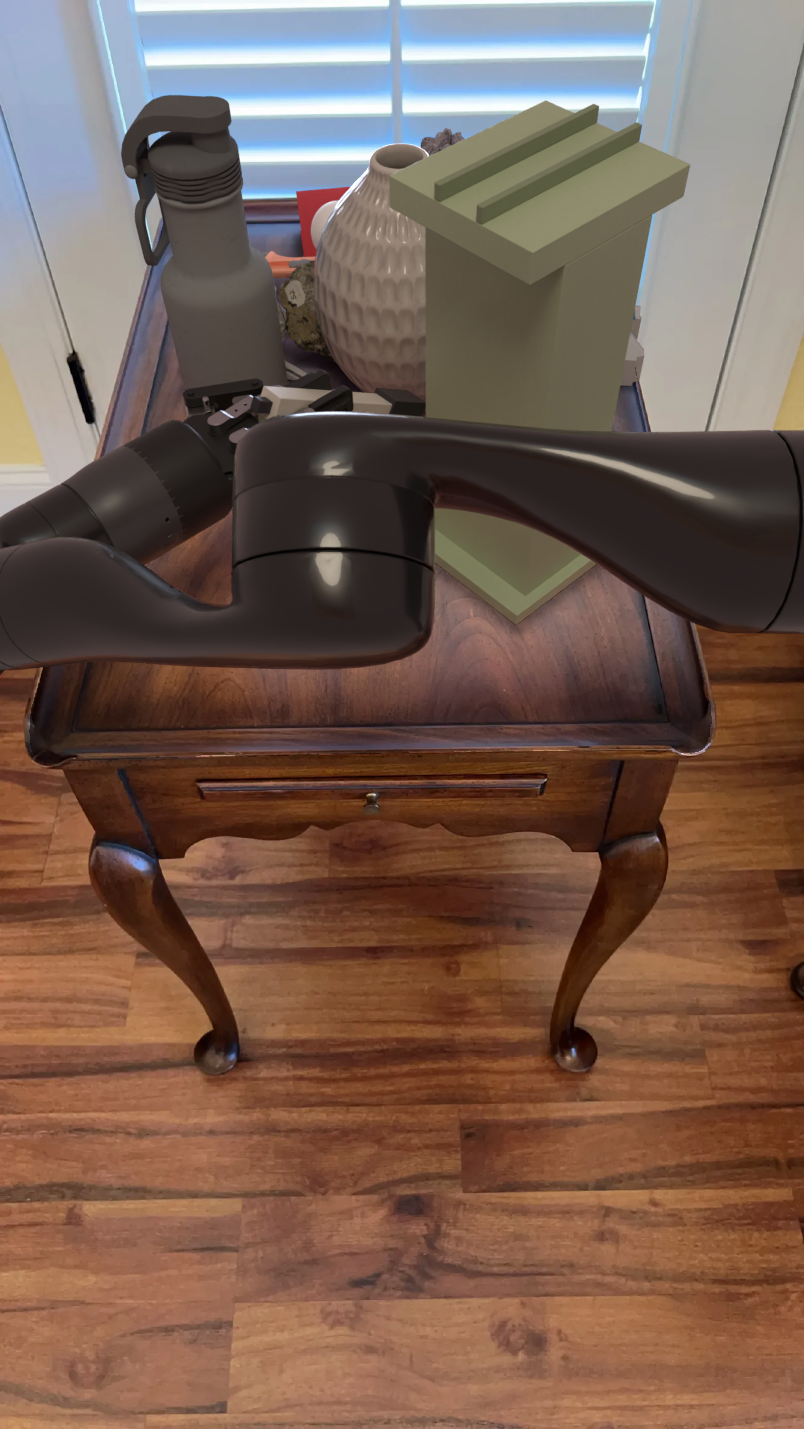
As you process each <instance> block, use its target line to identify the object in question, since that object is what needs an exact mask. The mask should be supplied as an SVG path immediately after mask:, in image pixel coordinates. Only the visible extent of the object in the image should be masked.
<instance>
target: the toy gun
mask: <svg viewBox="0 0 804 1429" xmlns="http://www.w3.org/2000/svg"><path fill="white" fill-rule="evenodd" d="M641 310H642V306H641V305H637V304H636V305H635V310H634V315H633V321H632V326H631V331H630V337H629V342H628V347H627V353H626V358H625V363H624V368H623V374H622V379H621V384H620V387H621V386H623V387H632V386H633V383H636V382H640V379H641V374H642V371H643V370H642V369H643V365H644V360H645V348H643V346H642V345H641V343H640V342H639V340H638V338H639V333H640V327H641V322H642V319H643V318H642V315H641ZM635 367H636V370H635ZM635 371H636V372H637V376H636V373H635ZM637 378H638V379H637Z"/></svg>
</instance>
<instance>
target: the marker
mask: <svg viewBox="0 0 804 1429" xmlns="http://www.w3.org/2000/svg"><path fill="white" fill-rule="evenodd" d="M331 391H332V389H331V390H316V389H301V388H286V387H271V386H264V387H263V390H262V393H261V396H260V397H258V396H254V397H253V400H252V403H251V406H250V408H251V409H253V410H254V411H255V412H257V413H258V414H260V415H261V416H262V417H264V418H265V419H266V420H267V419H269V418H271V417H273V416H277V415H280V416H284V415H290V414H292V413H294V412H296V411H298V410H301V409H303V408H308V405H309V404H311V403H313V402H314V401H316V400H317V399H319V398H320V397H322V396H324V395H326V394H327V393H329V392H331ZM352 392H353V411H352V412H369V413H382V414H396V415H409V416H419V417H423V415H424V412H425V411H426V402H425V401H423V400H422V399H420V398H419V397H418V396H416V395H415V394H413V393H412V392H410V391H409V390H401V389H387V388H376V389H375V392H374V393H364V392H362V391H361V392H360V391H352Z"/></svg>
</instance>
